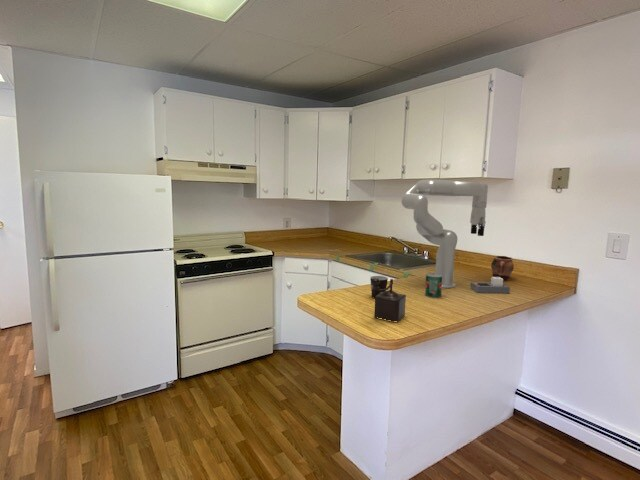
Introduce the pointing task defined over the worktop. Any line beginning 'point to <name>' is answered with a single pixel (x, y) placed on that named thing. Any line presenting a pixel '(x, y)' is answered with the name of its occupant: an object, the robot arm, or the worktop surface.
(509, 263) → the decorative planter
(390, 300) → the manual coffee grinder
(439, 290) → the canned tomato
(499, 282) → the block
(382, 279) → the coffee mug
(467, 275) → the worktop surface
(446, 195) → the robot arm
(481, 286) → the power strip
